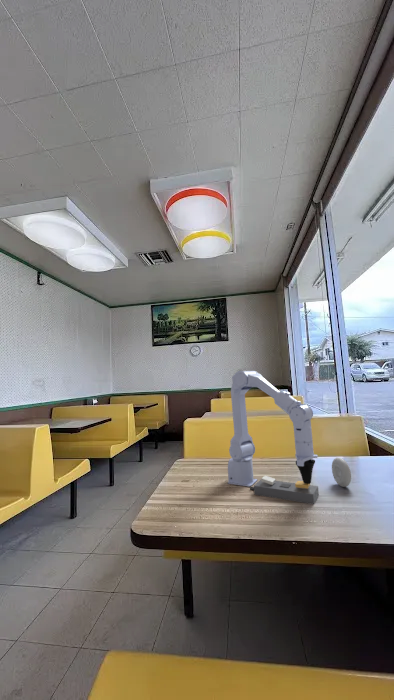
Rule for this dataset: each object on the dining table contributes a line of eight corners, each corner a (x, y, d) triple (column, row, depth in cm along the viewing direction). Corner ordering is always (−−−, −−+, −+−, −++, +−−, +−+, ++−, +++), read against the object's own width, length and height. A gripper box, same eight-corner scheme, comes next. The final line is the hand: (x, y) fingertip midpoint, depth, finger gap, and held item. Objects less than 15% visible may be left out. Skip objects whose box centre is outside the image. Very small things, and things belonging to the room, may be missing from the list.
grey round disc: (354, 490, 104) (351, 461, 105) (345, 491, 104) (342, 461, 105) (340, 481, 114) (337, 454, 115) (331, 481, 114) (328, 454, 115)
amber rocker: (295, 487, 101) (295, 484, 101) (298, 483, 104) (297, 480, 104) (307, 488, 98) (307, 485, 99) (310, 484, 101) (309, 481, 102)
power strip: (246, 493, 107) (245, 484, 108) (254, 486, 114) (254, 477, 114) (314, 504, 95) (313, 493, 95) (318, 495, 102) (317, 485, 102)
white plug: (261, 481, 107) (261, 478, 107) (264, 478, 110) (265, 475, 110) (272, 485, 105) (272, 482, 105) (275, 481, 108) (275, 479, 108)
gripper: (311, 446, 93) (315, 492, 92) (320, 437, 106) (323, 477, 104) (288, 445, 97) (292, 488, 96) (299, 436, 109) (302, 475, 108)
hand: (307, 482), depth 100 cm, fingers closed
